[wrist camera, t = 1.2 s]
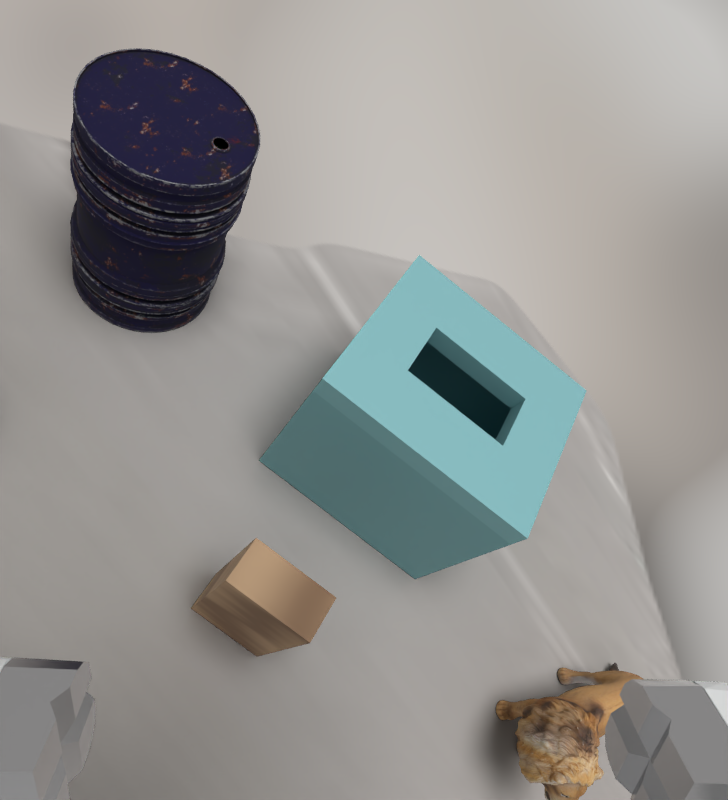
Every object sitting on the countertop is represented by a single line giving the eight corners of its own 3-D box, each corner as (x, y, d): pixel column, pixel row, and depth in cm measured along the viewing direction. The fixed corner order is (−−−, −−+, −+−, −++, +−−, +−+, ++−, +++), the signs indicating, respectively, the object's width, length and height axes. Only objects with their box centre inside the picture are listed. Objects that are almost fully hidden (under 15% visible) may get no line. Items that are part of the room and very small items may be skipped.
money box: (258, 460, 42) (322, 378, 32) (343, 352, 49) (419, 255, 38) (415, 579, 43) (527, 538, 33) (476, 457, 50) (586, 390, 39)
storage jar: (40, 288, 41) (27, 112, 29) (115, 200, 46) (131, 20, 34) (175, 357, 43) (217, 220, 31) (233, 265, 48) (288, 116, 36)
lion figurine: (491, 812, 39) (590, 838, 31) (453, 729, 40) (540, 734, 33) (626, 696, 46) (732, 695, 39) (591, 629, 48) (687, 616, 40)
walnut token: (190, 608, 37) (225, 580, 28) (216, 573, 38) (256, 537, 30) (256, 656, 37) (309, 642, 29) (279, 620, 38) (336, 597, 30)
